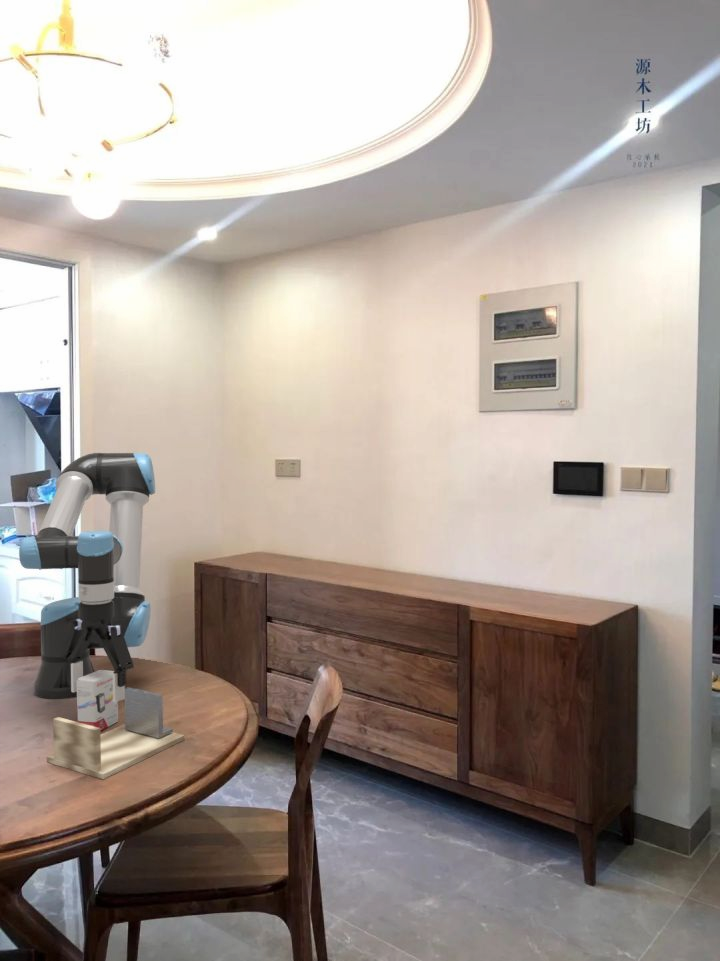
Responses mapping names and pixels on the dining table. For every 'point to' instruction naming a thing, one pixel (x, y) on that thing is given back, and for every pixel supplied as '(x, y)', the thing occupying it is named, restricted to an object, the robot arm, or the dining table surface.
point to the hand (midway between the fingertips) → (97, 695)
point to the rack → (103, 747)
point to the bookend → (144, 713)
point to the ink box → (96, 700)
